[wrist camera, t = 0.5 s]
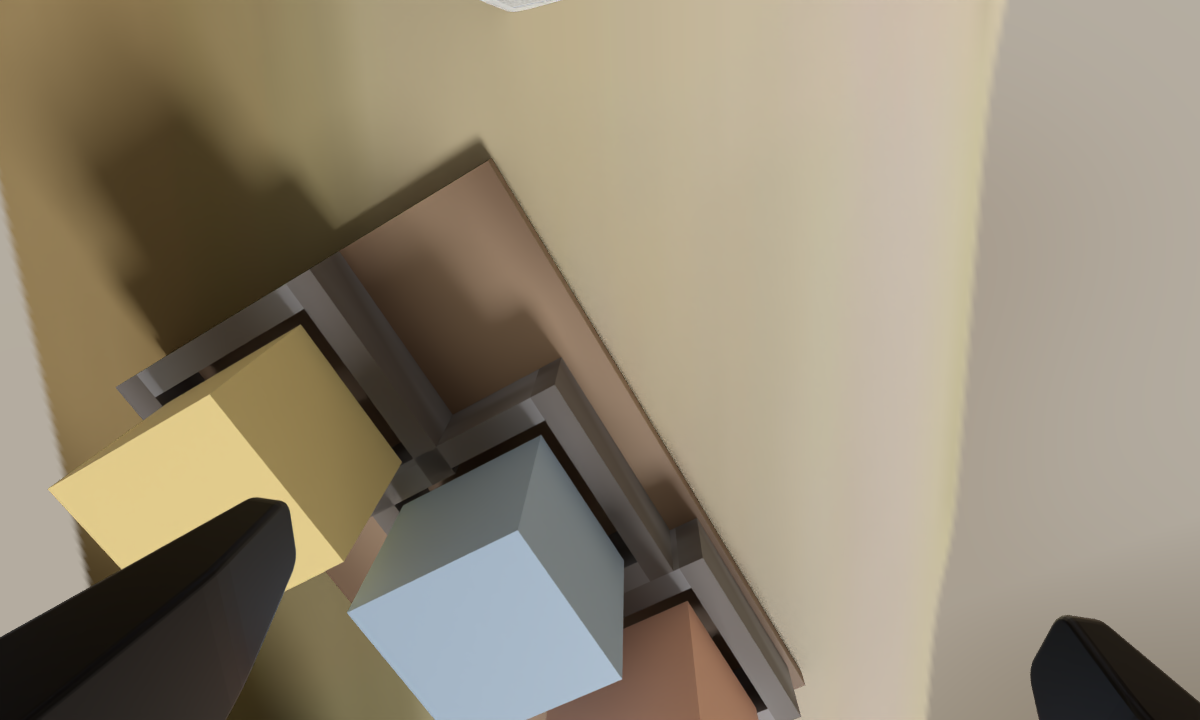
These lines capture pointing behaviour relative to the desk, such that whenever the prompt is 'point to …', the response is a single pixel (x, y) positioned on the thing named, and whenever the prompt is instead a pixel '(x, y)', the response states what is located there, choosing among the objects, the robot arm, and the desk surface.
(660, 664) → the peach cube
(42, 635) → the robot arm
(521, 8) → the light bulb box
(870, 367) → the desk surface
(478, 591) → the pale blue cube
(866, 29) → the desk surface
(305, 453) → the yellow cube
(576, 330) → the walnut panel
